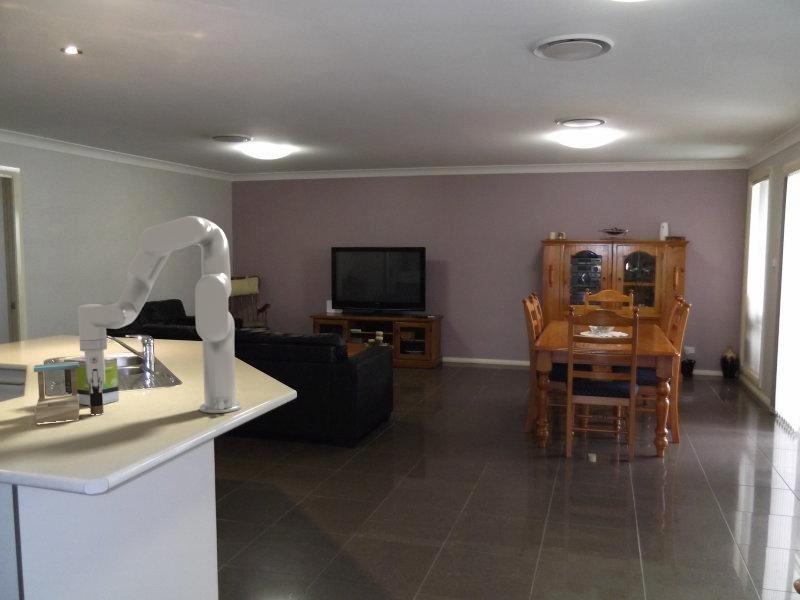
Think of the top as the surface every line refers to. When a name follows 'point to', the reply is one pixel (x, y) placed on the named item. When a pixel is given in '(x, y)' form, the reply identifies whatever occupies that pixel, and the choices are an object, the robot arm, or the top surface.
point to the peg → (96, 409)
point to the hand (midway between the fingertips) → (96, 403)
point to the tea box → (108, 386)
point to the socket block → (57, 405)
